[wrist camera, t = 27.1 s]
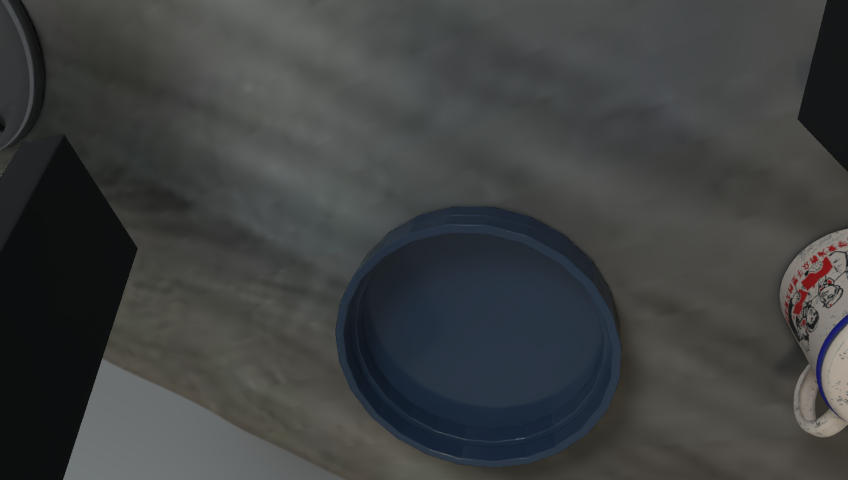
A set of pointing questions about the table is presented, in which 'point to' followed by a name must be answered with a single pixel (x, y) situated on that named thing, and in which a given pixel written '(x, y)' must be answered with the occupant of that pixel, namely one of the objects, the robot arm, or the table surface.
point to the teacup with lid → (820, 330)
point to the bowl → (480, 337)
